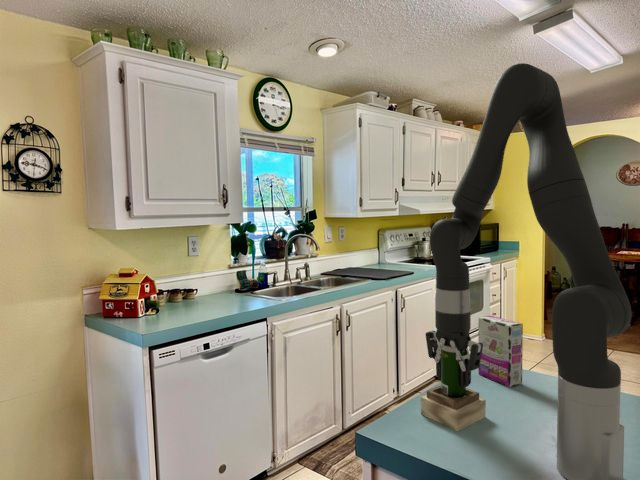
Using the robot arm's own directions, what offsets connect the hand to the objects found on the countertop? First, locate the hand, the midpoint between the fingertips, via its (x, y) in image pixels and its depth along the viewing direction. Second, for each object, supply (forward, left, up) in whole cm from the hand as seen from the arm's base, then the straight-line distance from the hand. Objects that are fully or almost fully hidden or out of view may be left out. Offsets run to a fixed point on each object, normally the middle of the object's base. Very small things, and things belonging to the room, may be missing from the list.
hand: (453, 381), depth 99 cm
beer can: (0, 0, -3) cm, 3 cm away
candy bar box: (+5, -27, -8) cm, 29 cm away
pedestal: (0, 0, -8) cm, 8 cm away
